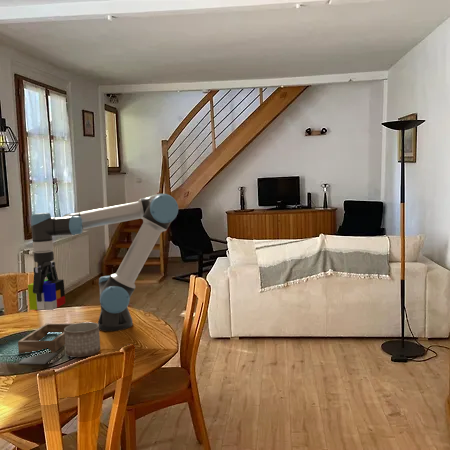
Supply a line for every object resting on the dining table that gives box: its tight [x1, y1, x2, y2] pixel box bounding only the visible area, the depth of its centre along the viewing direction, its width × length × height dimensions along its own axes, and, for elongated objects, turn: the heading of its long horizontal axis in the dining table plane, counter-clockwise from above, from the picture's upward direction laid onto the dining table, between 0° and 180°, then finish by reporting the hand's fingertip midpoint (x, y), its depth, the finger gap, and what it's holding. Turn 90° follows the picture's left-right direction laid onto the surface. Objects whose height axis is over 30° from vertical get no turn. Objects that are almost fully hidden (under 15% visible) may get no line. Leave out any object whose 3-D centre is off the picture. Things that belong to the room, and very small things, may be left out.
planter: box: [64, 321, 101, 358], centre depth 190 cm, size 13×13×10 cm
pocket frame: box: [17, 322, 76, 354], centre depth 204 cm, size 23×14×4 cm, turn 173°
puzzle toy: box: [27, 279, 66, 311], centre depth 203 cm, size 10×10×10 cm
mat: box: [18, 352, 58, 365], centre depth 186 cm, size 10×10×1 cm
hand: (47, 305), depth 203 cm, fingers closed on puzzle toy, 10 cm apart
